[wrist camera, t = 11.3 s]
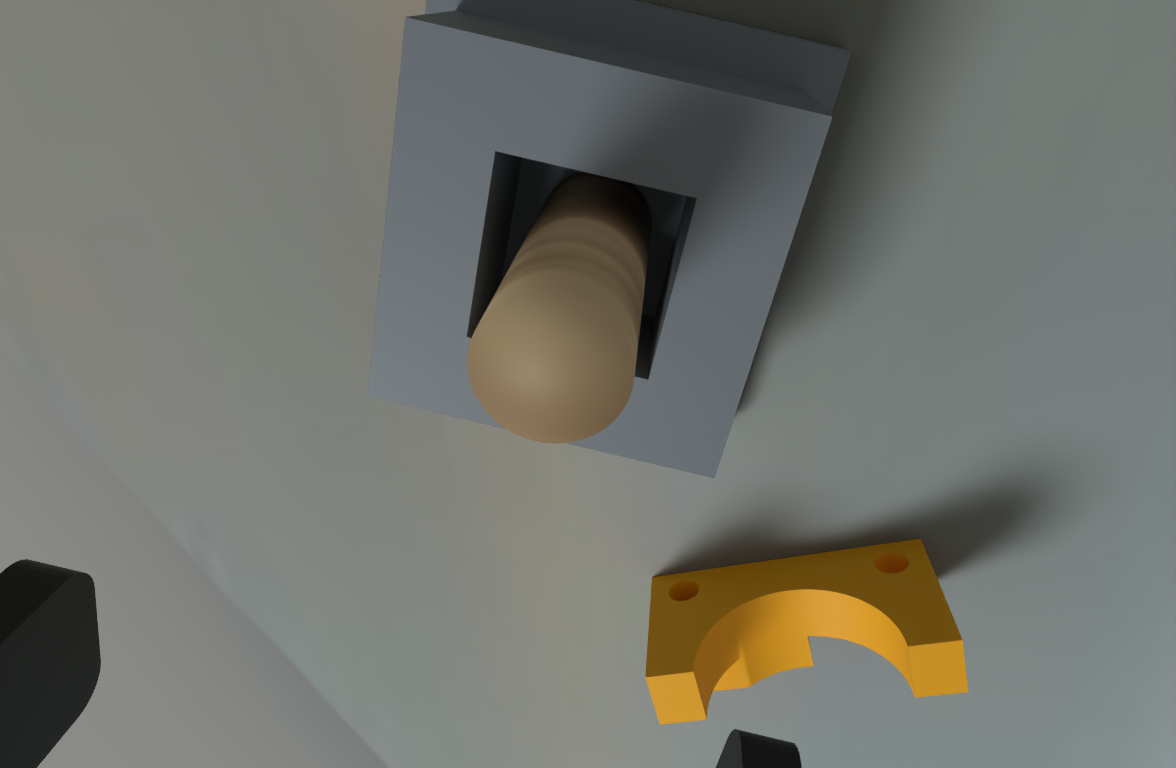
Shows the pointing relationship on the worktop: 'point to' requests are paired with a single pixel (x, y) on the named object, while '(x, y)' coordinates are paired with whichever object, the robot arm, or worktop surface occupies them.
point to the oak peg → (567, 315)
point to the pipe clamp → (798, 623)
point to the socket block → (611, 149)
